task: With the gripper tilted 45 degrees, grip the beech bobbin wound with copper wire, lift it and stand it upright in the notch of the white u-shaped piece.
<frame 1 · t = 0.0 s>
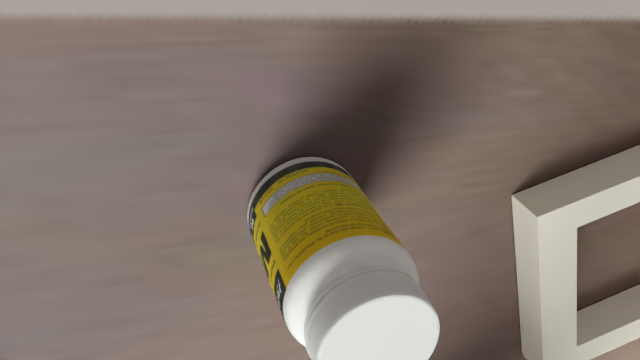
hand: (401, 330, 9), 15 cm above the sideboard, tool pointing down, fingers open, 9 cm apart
supplement bottle: (300, 203, 25), on the sideboard
white u-shaped piece: (626, 236, 32), on the sideboard
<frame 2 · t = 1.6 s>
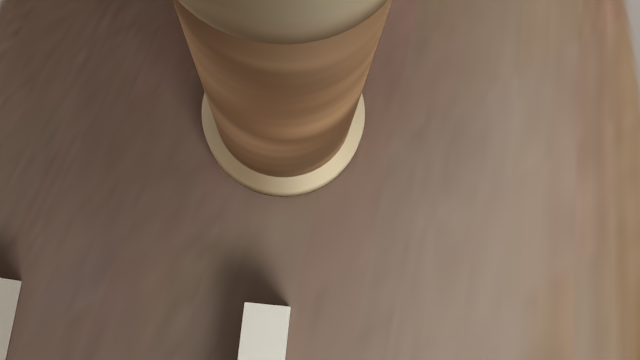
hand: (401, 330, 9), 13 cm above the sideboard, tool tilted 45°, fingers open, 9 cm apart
bobbin: (283, 120, 24), on the sideboard
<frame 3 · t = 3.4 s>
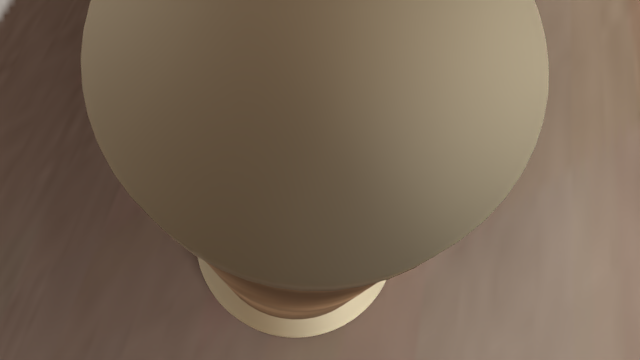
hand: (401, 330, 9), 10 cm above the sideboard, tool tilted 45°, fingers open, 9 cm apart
bobbin: (295, 239, 19), on the sideboard
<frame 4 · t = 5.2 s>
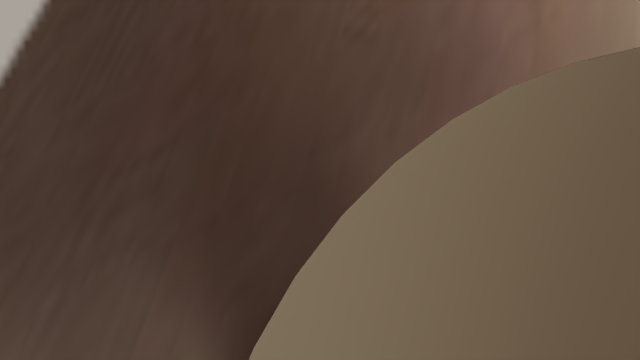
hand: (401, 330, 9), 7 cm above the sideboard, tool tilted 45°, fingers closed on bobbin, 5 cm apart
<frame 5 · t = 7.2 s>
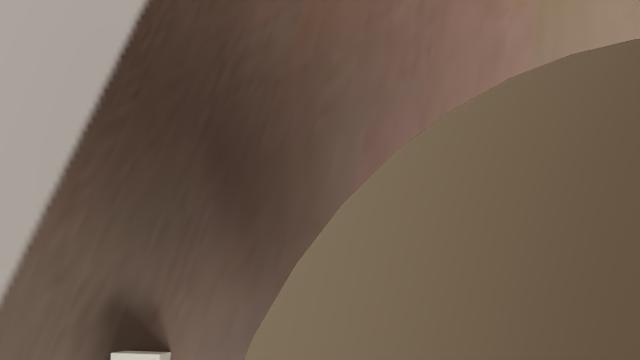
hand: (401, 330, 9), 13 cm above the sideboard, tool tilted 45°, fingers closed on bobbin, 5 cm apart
when the fingers open (8 cm above the sideboard, at t = 9.3 s): bobbin drops 1 cm, on the sideboard.
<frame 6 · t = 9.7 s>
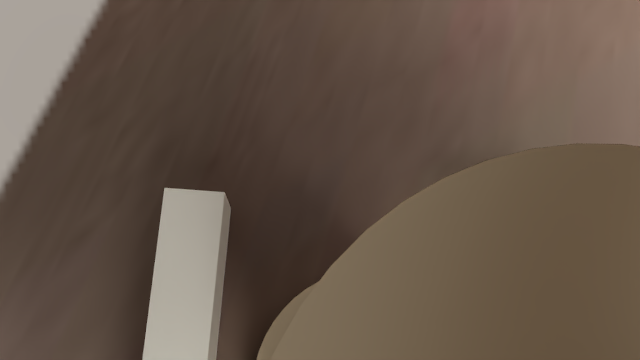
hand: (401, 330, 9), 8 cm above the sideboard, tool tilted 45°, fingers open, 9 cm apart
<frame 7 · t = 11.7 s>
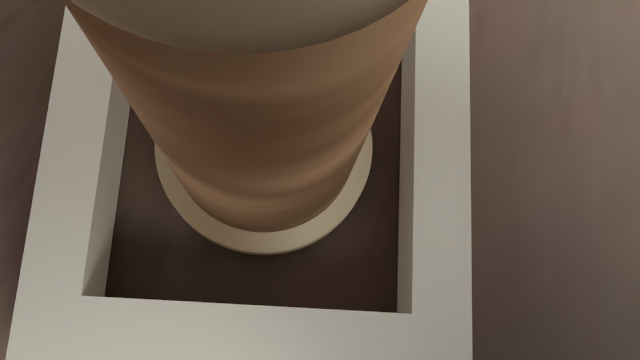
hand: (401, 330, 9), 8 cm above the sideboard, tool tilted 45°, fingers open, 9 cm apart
white u-shaped piece: (264, 151, 18), on the sideboard
bobbin: (265, 153, 18), on the sideboard
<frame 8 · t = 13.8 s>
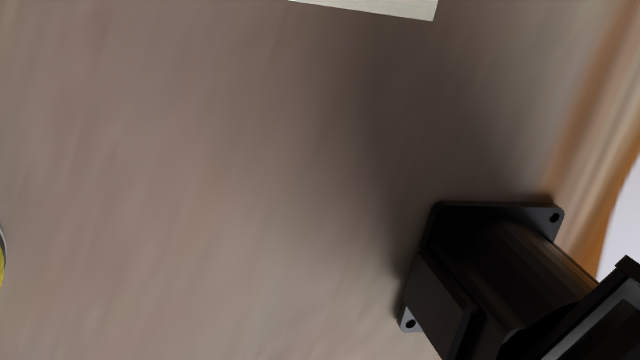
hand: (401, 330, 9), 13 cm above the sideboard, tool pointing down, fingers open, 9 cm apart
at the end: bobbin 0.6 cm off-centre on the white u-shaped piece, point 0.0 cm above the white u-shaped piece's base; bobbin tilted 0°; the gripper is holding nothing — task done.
